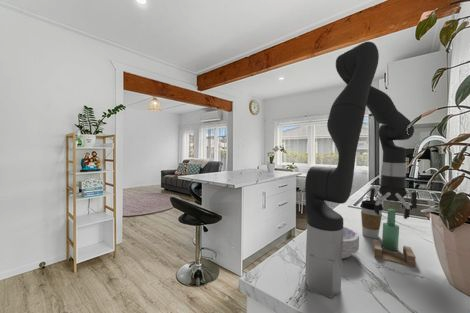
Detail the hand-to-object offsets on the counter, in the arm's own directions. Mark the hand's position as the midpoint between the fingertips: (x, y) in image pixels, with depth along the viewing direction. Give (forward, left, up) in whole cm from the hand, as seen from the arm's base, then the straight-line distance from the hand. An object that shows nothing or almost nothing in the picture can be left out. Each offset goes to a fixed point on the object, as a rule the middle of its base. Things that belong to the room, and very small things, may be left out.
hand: (391, 216), depth 81 cm
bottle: (0, 0, -13) cm, 13 cm away
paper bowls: (-15, +18, -13) cm, 27 cm away
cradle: (-8, 0, -12) cm, 15 cm away
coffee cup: (+10, +6, -13) cm, 17 cm away
